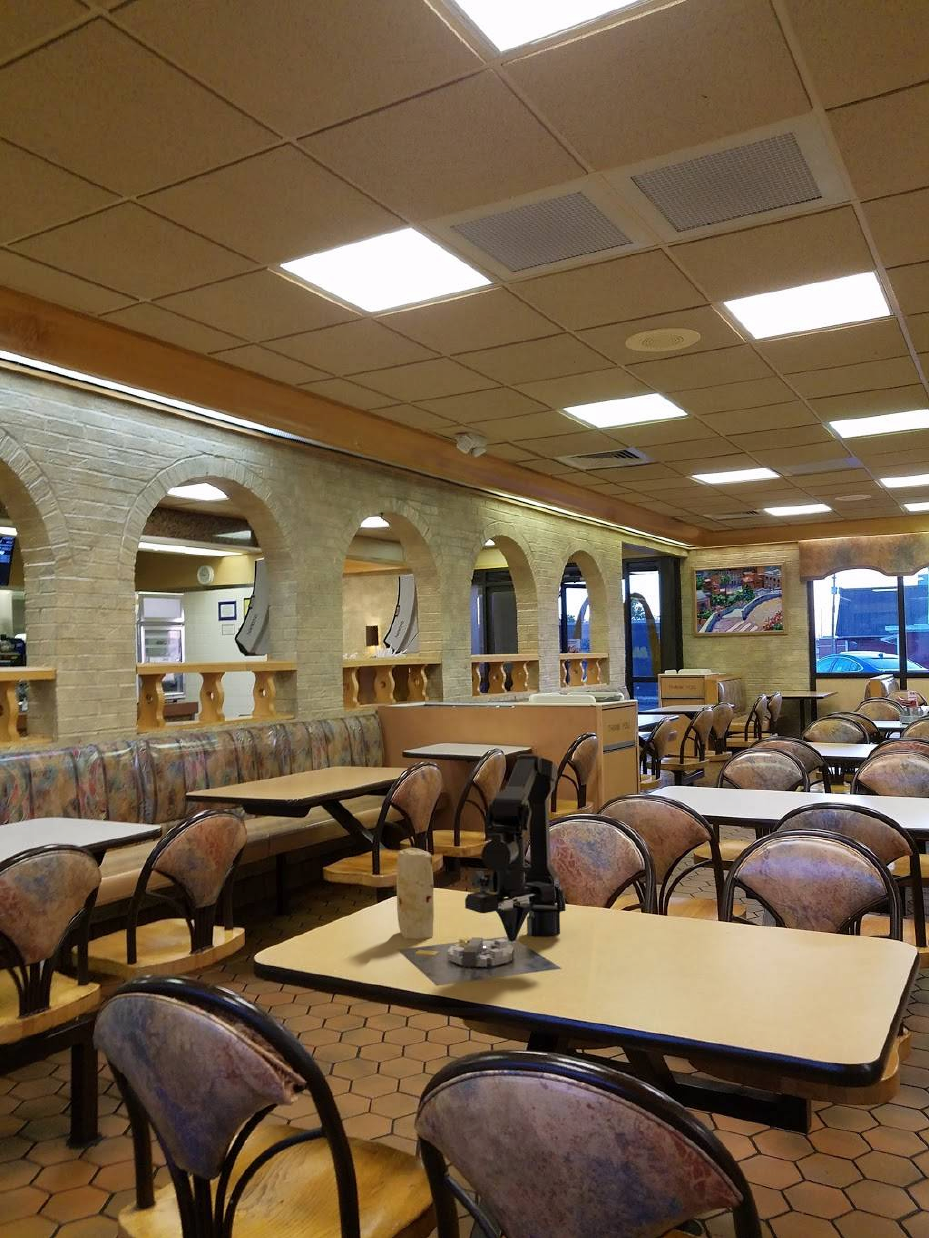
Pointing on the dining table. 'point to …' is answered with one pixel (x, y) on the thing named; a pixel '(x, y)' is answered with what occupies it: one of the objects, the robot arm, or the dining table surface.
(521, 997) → the dining table surface
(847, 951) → the dining table surface
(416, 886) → the food model
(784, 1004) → the dining table surface
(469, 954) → the grey ring frame
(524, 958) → the cap plate
